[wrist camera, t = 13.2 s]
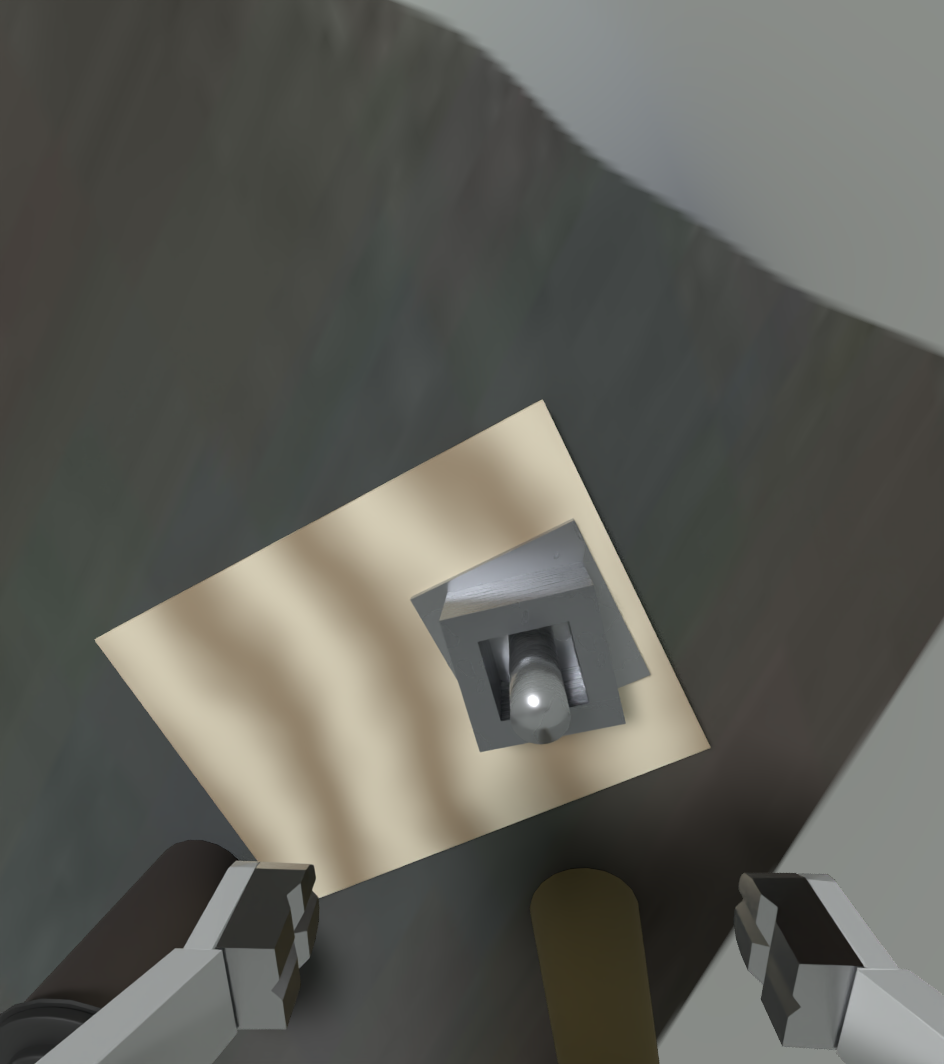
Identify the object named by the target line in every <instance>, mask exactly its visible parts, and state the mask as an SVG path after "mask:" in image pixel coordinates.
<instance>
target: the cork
mask: <svg viewBox="0 0 944 1064" xmlns="http://www.w3.org/2000/svg"><path fill="white" fill-rule="evenodd" d="M530 913H531V920H532V925H533V931H534V936H535V941H536V947H537V952H538V958H539V963H540V969H541V974H542V979H543V985H544V990H545V996H546V1001H547V1006H548V1012H549V1017H550V1023H551V1028H552V1033H553V1039H554V1044H555V1050H556V1055H557V1060H558V1064H659V1057H658V1049H657V1041H656V1034H655V1026H654V1019H653V1011H652V1004H651V996H650V989H649V981H648V974H647V966H646V959H645V951H644V944H643V936H642V929H641V921H640V914H639V906H638V901H637V899H636V897H635V895H634V893H633V891H632V889H631V888H630V887H629V886H628V885H626V884H625V883H624V882H623V881H622V880H621V879H620V878H618V877H616V876H614V875H612V874H610V873H608V872H606V871H601V870H596V869H591V868H578V869H569V870H566V871H563V872H560V873H557V874H554V875H553V876H551V877H550V878H548V879H547V880H545V881H544V882H542V883H541V885H540V886H539V887H538V889H537V890H536V891H535V893H534V894H533V897H532V901H531V905H530Z"/></svg>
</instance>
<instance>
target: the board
mask: <svg viewBox="0 0 944 1064" xmlns="http://www.w3.org/2000/svg"><path fill="white" fill-rule="evenodd" d="M572 518H573V519H574V520H575V522H576V524H577V526H578V528H579V530H580V532H581V534H582V536H583V538H584V540H585V543H586V545H587V547H588V549H589V551H590V553H591V555H592V557H593V559H594V561H595V563H596V565H597V567H598V569H599V571H600V573H601V575H602V577H603V579H604V581H605V583H606V585H607V587H608V589H609V591H610V593H611V595H612V597H613V599H614V601H615V603H616V605H617V607H618V609H619V611H620V613H621V615H622V617H623V619H624V622H625V624H626V626H627V628H628V630H629V632H630V634H631V636H632V638H633V640H634V642H635V644H636V646H637V648H638V650H639V652H640V654H641V656H642V658H643V660H644V662H645V664H646V666H647V668H648V670H649V672H650V674H651V675H649V676H647V677H644V678H642V679H639V680H637V681H635V682H632V683H630V684H627V685H625V686H623V687H620V688H618V691H619V696H620V700H621V704H622V709H623V713H624V718H625V722H626V724H622V725H617V726H612V727H607V728H602V729H596V730H591V731H586V732H581V733H576V734H571V735H566V736H562V737H561V738H560V739H558V740H556V741H554V742H552V743H548V744H533V743H525V744H520V745H515V746H510V747H505V748H499V749H494V750H489V751H484V752H480V751H479V748H478V745H477V742H476V738H475V735H474V732H473V729H472V725H471V722H470V719H469V716H468V713H467V709H466V706H465V703H464V700H463V696H462V693H461V690H460V687H459V683H458V681H457V679H456V678H455V676H454V674H453V672H452V671H451V669H450V667H449V666H448V664H447V662H446V660H445V659H444V657H443V655H442V654H441V652H440V650H439V648H438V647H437V645H436V643H435V642H434V640H433V638H432V636H431V635H430V633H429V631H428V630H427V628H426V626H425V625H424V623H423V621H422V619H421V618H420V616H419V614H418V613H417V611H416V609H415V607H414V606H413V604H412V602H411V601H410V599H411V597H412V596H414V595H416V594H418V593H420V592H422V591H424V590H426V589H428V588H430V587H432V586H434V585H437V584H439V583H441V582H443V581H445V580H447V579H449V578H451V577H453V576H455V575H457V574H459V573H461V572H463V571H465V570H467V569H469V568H471V567H474V566H476V565H478V564H480V563H482V562H484V561H486V560H488V559H490V558H492V557H494V556H496V555H498V554H500V553H502V552H504V551H506V550H509V549H511V548H513V547H515V546H517V545H519V544H521V543H523V542H525V541H527V540H529V539H531V538H533V537H535V536H537V535H539V534H541V533H543V532H546V531H548V530H550V529H552V528H554V527H556V526H558V525H560V524H562V523H564V522H566V521H568V520H570V519H572ZM95 641H96V643H97V644H98V645H99V647H100V648H101V649H102V651H103V652H104V653H105V655H106V656H107V658H108V659H109V660H110V662H111V663H112V664H113V666H114V667H115V668H116V670H117V671H118V672H119V674H120V675H121V676H122V678H123V679H124V681H125V682H126V683H127V685H128V686H129V687H130V689H131V690H132V691H133V693H134V694H135V695H136V697H137V698H138V699H139V701H140V702H141V704H142V705H143V706H144V708H145V709H146V710H147V712H148V713H149V714H150V716H151V717H152V718H153V720H154V721H155V722H156V724H157V725H158V727H159V728H160V729H161V731H162V732H163V733H164V735H165V736H166V737H167V739H168V740H169V741H170V743H171V744H172V746H173V747H174V748H175V750H176V751H177V752H178V754H179V755H180V756H181V758H182V759H183V760H184V762H185V763H186V764H187V766H188V767H189V769H190V770H191V771H192V773H193V774H194V775H195V777H196V778H197V779H198V781H199V782H200V783H201V785H202V786H203V787H204V789H205V790H206V792H207V793H208V794H209V796H210V797H211V798H212V800H213V801H214V802H215V804H216V805H217V806H218V808H219V809H220V810H221V812H222V813H223V815H224V816H225V817H226V819H227V820H228V821H229V823H230V824H231V825H232V827H233V828H234V829H235V831H236V832H237V833H238V835H239V836H240V838H241V839H242V840H243V842H244V843H245V844H246V846H247V847H248V848H249V850H250V851H251V852H252V854H253V855H254V856H255V858H256V859H257V861H258V862H279V863H298V864H312V865H314V868H315V875H316V880H315V883H314V886H313V889H312V891H313V892H314V893H315V894H316V895H317V896H318V898H321V897H323V896H326V895H329V894H331V893H334V892H336V891H339V890H342V889H344V888H347V887H349V886H352V885H355V884H357V883H360V882H362V881H365V880H368V879H370V878H373V877H375V876H378V875H381V874H383V873H386V872H388V871H391V870H394V869H396V868H399V867H401V866H404V865H407V864H409V863H412V862H415V861H417V860H420V859H422V858H425V857H428V856H430V855H433V854H435V853H438V852H441V851H443V850H446V849H448V848H451V847H454V846H456V845H459V844H461V843H464V842H467V841H469V840H472V839H474V838H477V837H480V836H482V835H485V834H487V833H490V832H493V831H495V830H498V829H500V828H503V827H506V826H508V825H511V824H513V823H516V822H519V821H521V820H524V819H526V818H529V817H532V816H534V815H537V814H540V813H542V812H545V811H547V810H550V809H553V808H555V807H558V806H560V805H563V804H566V803H568V802H571V801H573V800H576V799H579V798H581V797H584V796H586V795H589V794H592V793H594V792H597V791H599V790H602V789H605V788H607V787H610V786H612V785H615V784H618V783H620V782H623V781H625V780H628V779H631V778H633V777H636V776H638V775H641V774H644V773H646V772H649V771H651V770H654V769H657V768H659V767H662V766H665V765H667V764H670V763H672V762H675V761H678V760H680V759H683V758H685V757H688V756H691V755H693V754H696V753H698V752H701V751H704V750H706V749H709V748H711V747H710V745H709V743H708V741H707V739H706V737H705V735H704V733H703V731H702V729H701V727H700V725H699V723H698V721H697V718H696V716H695V714H694V712H693V710H692V708H691V706H690V704H689V702H688V700H687V698H686V696H685V694H684V691H683V689H682V687H681V685H680V683H679V681H678V679H677V677H676V675H675V673H674V671H673V669H672V667H671V665H670V662H669V660H668V658H667V656H666V654H665V652H664V650H663V648H662V646H661V644H660V642H659V640H658V638H657V636H656V633H655V631H654V629H653V627H652V625H651V623H650V621H649V619H648V617H647V615H646V613H645V611H644V609H643V606H642V604H641V602H640V600H639V598H638V596H637V594H636V592H635V590H634V588H633V586H632V584H631V582H630V580H629V577H628V575H627V573H626V571H625V569H624V567H623V565H622V563H621V561H620V559H619V557H618V555H617V553H616V551H615V548H614V546H613V544H612V542H611V540H610V538H609V536H608V534H607V532H606V530H605V528H604V526H603V524H602V522H601V519H600V517H599V515H598V513H597V511H596V509H595V507H594V505H593V503H592V501H591V499H590V497H589V495H588V492H587V490H586V488H585V486H584V484H583V482H582V480H581V478H580V476H579V474H578V472H577V470H576V468H575V466H574V463H573V461H572V459H571V457H570V455H569V453H568V451H567V449H566V447H565V445H564V443H563V441H562V439H561V437H560V434H559V432H558V430H557V428H556V426H555V424H554V422H553V420H552V418H551V416H550V414H549V412H548V410H547V407H546V405H545V403H544V401H543V400H540V401H538V402H536V403H534V404H532V405H531V406H529V407H527V408H525V409H523V410H521V411H519V412H517V413H516V414H514V415H512V416H510V417H508V418H506V419H504V420H503V421H501V422H499V423H497V424H495V425H493V426H491V427H489V428H488V429H486V430H484V431H482V432H480V433H478V434H476V435H475V436H473V437H471V438H469V439H467V440H465V441H463V442H461V443H460V444H458V445H456V446H454V447H452V448H450V449H448V450H446V451H445V452H443V453H441V454H439V455H437V456H435V457H433V458H432V459H430V460H428V461H426V462H424V463H422V464H420V465H418V466H417V467H415V468H413V469H411V470H409V471H407V472H405V473H404V474H402V475H400V476H398V477H396V478H394V479H392V480H390V481H389V482H387V483H385V484H383V485H381V486H379V487H377V488H375V489H374V490H372V491H370V492H368V493H366V494H364V495H362V496H361V497H359V498H357V499H355V500H353V501H351V502H349V503H347V504H346V505H344V506H342V507H340V508H338V509H336V510H334V511H333V512H331V513H329V514H327V515H325V516H323V517H321V518H319V519H318V520H316V521H314V522H312V523H310V524H308V525H306V526H305V527H303V528H301V529H299V530H297V531H295V532H293V533H291V534H290V535H288V536H286V537H284V538H282V539H280V540H278V541H276V542H275V543H273V544H271V545H269V546H267V547H265V548H263V549H262V550H260V551H258V552H256V553H254V554H252V555H250V556H248V557H247V558H245V559H243V560H241V561H239V562H237V563H235V564H234V565H232V566H230V567H228V568H226V569H224V570H222V571H220V572H219V573H217V574H215V575H213V576H211V577H209V578H207V579H206V580H204V581H202V582H200V583H198V584H196V585H194V586H192V587H191V588H189V589H187V590H185V591H183V592H181V593H179V594H177V595H176V596H174V597H172V598H170V599H168V600H166V601H164V602H163V603H161V604H159V605H157V606H155V607H153V608H151V609H149V610H148V611H146V612H144V613H142V614H140V615H138V616H136V617H135V618H133V619H131V620H129V621H127V622H125V623H123V624H121V625H120V626H118V627H116V628H114V629H112V630H110V631H109V632H107V633H105V634H103V635H102V636H100V637H98V638H96V639H95Z"/></svg>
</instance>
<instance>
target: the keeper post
mask: <svg viewBox="0 0 944 1064" xmlns="http://www.w3.org/2000/svg"><path fill="white" fill-rule="evenodd" d="M578 561H582V562H583V564H584V566H585V568H586V570H587V572H588V574H589V576H590V578H591V580H592V582H593V584H594V587H595V592H596V596H597V600H598V605H599V609H600V613H601V618H602V622H603V626H604V631H605V635H606V639H607V644H608V648H609V652H610V657H611V661H612V665H613V670H614V674H615V678H616V683H617V687H618V688H620V687H623V686H625V685H627V684H630V683H632V682H635V681H637V680H639V679H642V678H644V677H647V676H649V675H651V674H650V672H649V670H648V668H647V666H646V664H645V662H644V660H643V658H642V656H641V654H640V652H639V650H638V648H637V646H636V644H635V642H634V640H633V638H632V636H631V634H630V632H629V630H628V628H627V626H626V624H625V622H624V619H623V617H622V615H621V613H620V611H619V609H618V607H617V605H616V603H615V601H614V599H613V597H612V595H611V593H610V591H609V589H608V587H607V585H606V583H605V581H604V579H603V577H602V575H601V573H600V571H599V569H598V567H597V565H596V563H595V561H594V559H593V557H592V555H591V553H590V551H589V549H588V547H587V545H586V543H585V540H584V538H583V536H582V534H581V532H580V530H579V528H578V526H577V524H576V522H575V520H574V519H573V518H572V519H570V520H568V521H566V522H564V523H562V524H560V525H558V526H556V527H554V528H552V529H550V530H548V531H546V532H543V533H541V534H539V535H537V536H535V537H533V538H531V539H529V540H527V541H525V542H523V543H521V544H519V545H517V546H515V547H513V548H511V549H509V550H506V551H504V552H502V553H500V554H498V555H496V556H494V557H492V558H490V559H488V560H486V561H484V562H482V563H480V564H478V565H476V566H474V567H471V568H469V569H467V570H465V571H463V572H461V573H459V574H457V575H455V576H453V577H451V578H449V579H447V580H445V581H443V582H441V583H439V584H437V585H434V586H432V587H430V588H428V589H426V590H424V591H422V592H420V593H418V594H416V595H414V596H412V597H411V599H410V601H411V602H412V604H413V606H414V607H415V609H416V611H417V613H418V614H419V616H420V618H421V619H422V621H423V623H424V625H425V626H426V628H427V630H428V631H429V633H430V635H431V636H432V638H433V640H434V642H435V643H436V645H437V647H438V648H439V650H440V652H441V654H442V655H443V657H444V659H445V660H446V662H447V664H448V666H449V667H450V669H451V671H452V672H453V674H454V676H455V678H456V679H457V677H456V674H455V671H454V667H453V664H452V661H451V658H450V654H449V651H448V648H447V645H446V641H445V638H444V635H443V632H442V629H441V625H440V622H439V619H440V616H441V613H442V609H443V606H444V603H445V599H446V596H447V593H448V592H452V591H457V590H461V589H465V588H469V587H473V586H478V585H482V584H486V583H490V582H494V581H499V580H503V579H507V578H511V577H515V576H520V575H524V574H528V573H532V572H536V571H541V570H545V569H549V568H553V567H557V566H562V565H566V564H570V563H574V562H578ZM489 641H490V645H491V648H492V652H493V655H494V659H495V662H496V666H497V669H498V673H499V676H500V680H501V682H503V681H508V680H509V683H510V721H511V725H512V728H513V730H514V731H515V733H516V734H517V735H518V736H519V737H520V738H522V739H523V740H525V741H527V742H530V743H533V744H548V743H552V742H554V741H556V740H558V739H560V738H561V737H562V736H563V735H564V734H565V733H566V732H567V730H568V728H569V726H570V721H571V715H570V710H569V705H568V700H567V696H566V691H565V686H564V682H563V677H562V673H561V669H564V668H569V667H574V666H578V662H577V657H576V653H575V649H574V645H573V641H572V637H571V633H570V629H569V625H568V622H564V623H559V624H555V625H551V626H546V627H542V628H537V629H533V630H528V631H524V632H519V633H515V634H510V635H506V636H501V637H497V638H492V639H489ZM457 681H458V680H457Z"/></svg>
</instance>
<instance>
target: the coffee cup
mask: <svg viewBox="0 0 944 1064" xmlns="http://www.w3.org/2000/svg"><path fill="white" fill-rule="evenodd" d="M235 861H238V860H237V859H236V858H235V857H234V856H233V855H232V854H231V853H230V852H229V851H227V850H225V849H223V848H222V847H220V846H218V845H216V844H213V843H209V842H206V841H200V840H187V841H184V842H180V843H176V844H174V845H173V846H172V847H170V848H169V849H167V850H166V851H165V852H164V853H163V854H162V855H161V856H160V857H159V858H158V859H157V860H156V862H155V863H154V864H153V865H152V866H151V867H150V868H149V869H148V870H147V871H146V872H145V873H144V874H143V875H142V877H141V878H140V879H139V880H138V881H137V882H136V883H135V884H134V885H133V886H132V887H131V888H130V889H129V890H128V892H127V893H126V894H125V895H124V896H123V897H122V898H121V899H120V900H119V901H118V902H117V903H116V904H115V905H114V906H113V908H112V909H111V910H110V911H109V912H108V913H107V914H106V915H105V916H104V917H103V918H102V919H101V920H100V921H99V923H98V924H97V925H96V926H95V927H94V928H93V929H92V930H91V931H90V932H89V933H88V934H87V935H86V936H85V938H84V939H83V940H82V941H81V942H80V943H79V944H78V945H77V946H76V947H75V948H74V949H73V950H72V951H71V953H70V954H69V955H68V956H67V957H66V958H65V959H64V960H63V961H62V962H61V963H60V964H59V965H58V966H57V968H56V969H55V970H54V971H53V972H52V973H51V974H50V975H49V976H48V977H47V978H46V979H45V980H44V981H43V983H42V984H41V985H40V986H39V987H38V988H37V989H36V990H35V991H34V992H33V993H32V994H31V995H30V996H29V998H28V999H27V1000H26V1001H25V1002H24V1003H20V1004H15V1005H14V1006H12V1007H11V1008H9V1009H8V1010H6V1011H5V1012H3V1013H1V1014H0V1064H35V1063H36V1062H37V1061H39V1060H40V1059H41V1058H42V1057H44V1056H45V1055H46V1054H47V1053H48V1052H50V1051H51V1050H52V1049H53V1048H55V1047H56V1046H57V1045H58V1044H59V1043H61V1042H62V1041H63V1040H64V1039H65V1038H67V1037H68V1036H69V1035H70V1034H72V1033H73V1032H74V1031H75V1030H76V1029H78V1028H79V1027H80V1026H81V1025H83V1024H84V1023H85V1022H86V1021H87V1020H89V1019H90V1018H91V1017H92V1016H93V1015H95V1014H96V1013H97V1012H98V1011H100V1010H101V1009H102V1008H103V1007H104V1006H106V1005H107V1004H108V1003H109V1002H111V1001H112V1000H113V999H114V998H115V997H117V996H118V995H119V994H120V993H121V992H123V991H124V990H125V989H126V988H128V987H129V986H130V985H131V984H132V983H134V982H135V981H136V980H137V979H138V978H140V977H141V976H142V975H143V974H145V973H146V972H147V971H148V970H149V969H151V968H152V967H153V966H154V965H156V964H157V963H158V962H159V961H160V960H162V959H163V958H164V957H165V956H166V955H168V954H169V953H170V952H171V951H173V950H174V949H175V948H184V946H185V944H186V943H187V941H188V939H189V937H190V935H191V934H192V932H193V930H194V928H195V927H196V925H197V923H198V921H199V919H200V918H201V916H202V914H203V912H204V911H205V909H206V907H207V905H208V903H209V902H210V900H211V898H212V896H213V895H214V893H215V891H216V889H217V887H218V886H219V884H220V882H221V880H222V879H223V877H224V875H225V873H226V871H227V870H228V868H229V867H230V866H231V865H232V864H233V863H234V862H235Z"/></svg>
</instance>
